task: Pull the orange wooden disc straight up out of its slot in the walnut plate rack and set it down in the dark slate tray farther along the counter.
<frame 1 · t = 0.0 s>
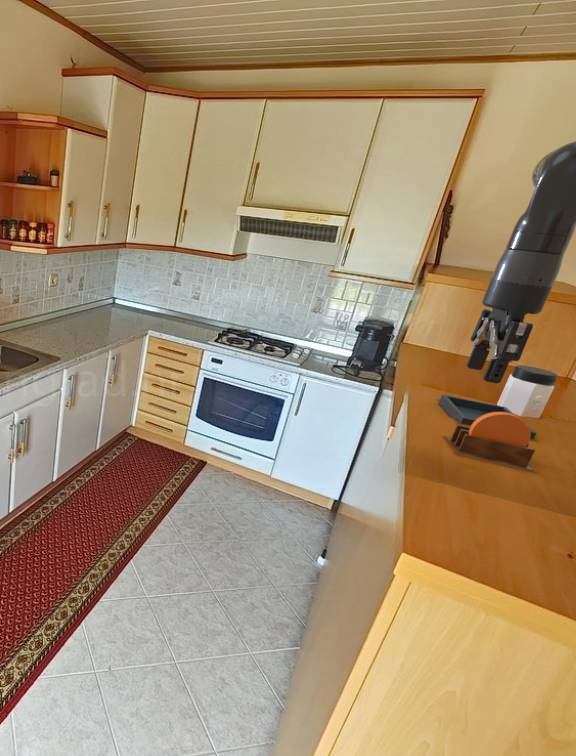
hand: (481, 375, 84), 19 cm above the worktop, tool pointing down, fingers open, 8 cm apart
jar: (515, 414, 126), on the worktop
disc: (489, 454, 97), point 1 cm above the worktop, touching rack
tray: (481, 421, 118), on the worktop
rack: (484, 457, 98), on the worktop
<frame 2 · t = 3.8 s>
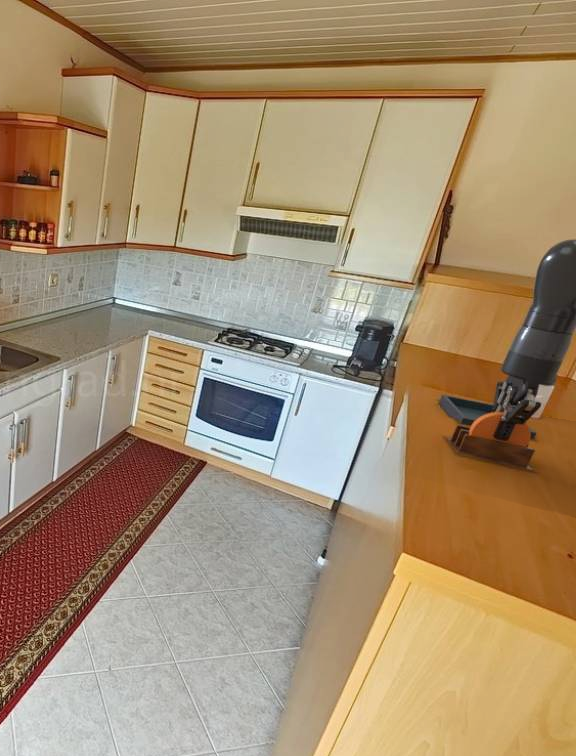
hand: (497, 436, 95), 5 cm above the worktop, tool pointing down, fingers closed on disc, 1 cm apart
disc: (489, 455, 97), point 1 cm above the worktop, touching gripper, rack
everything else where it was.
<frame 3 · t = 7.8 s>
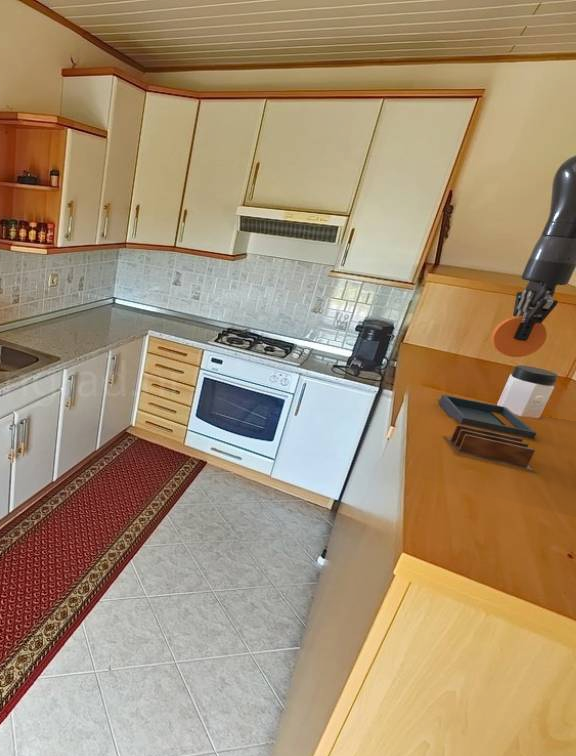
hand: (517, 338, 108), 21 cm above the worktop, tool pointing down, fingers closed on disc, 1 cm apart
disc: (509, 355, 110), point 17 cm above the worktop, touching gripper
everything else where it was.
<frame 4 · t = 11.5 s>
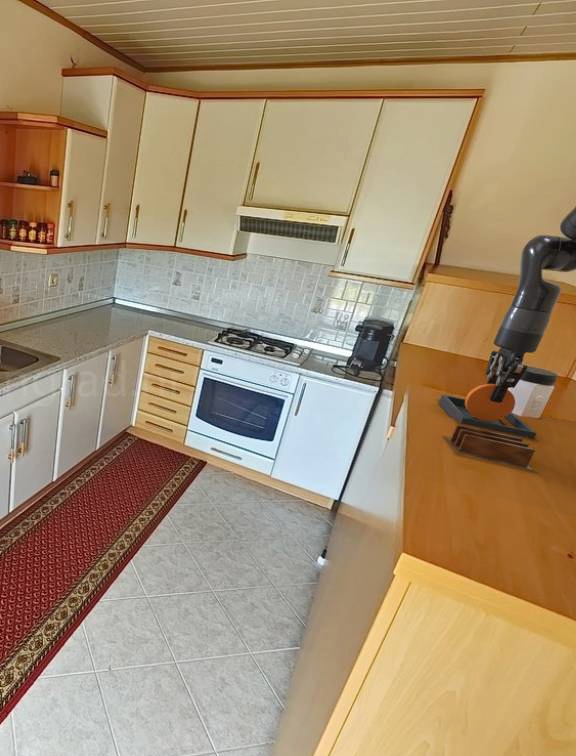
hand: (491, 398, 116), 6 cm above the worktop, tool pointing down, fingers open, 4 cm apart
disc: (481, 419, 118), point 1 cm above the worktop, touching tray
everything else where it was.
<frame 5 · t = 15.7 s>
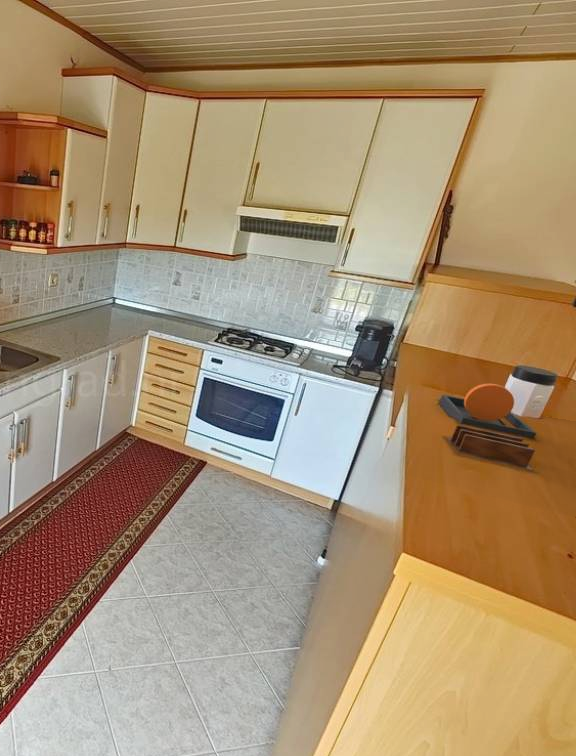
nothing on the worktop moved.
at the end: disc inside the target area on the tray (0.1 cm from its centre), point 0.6 cm above the tray's base; disc touching tray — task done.
